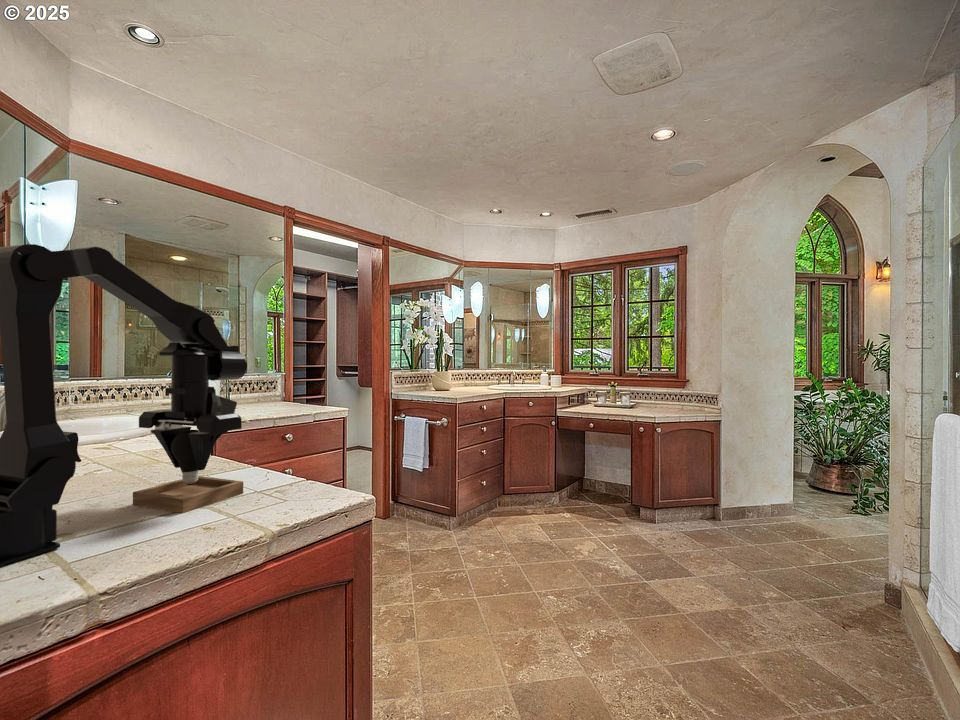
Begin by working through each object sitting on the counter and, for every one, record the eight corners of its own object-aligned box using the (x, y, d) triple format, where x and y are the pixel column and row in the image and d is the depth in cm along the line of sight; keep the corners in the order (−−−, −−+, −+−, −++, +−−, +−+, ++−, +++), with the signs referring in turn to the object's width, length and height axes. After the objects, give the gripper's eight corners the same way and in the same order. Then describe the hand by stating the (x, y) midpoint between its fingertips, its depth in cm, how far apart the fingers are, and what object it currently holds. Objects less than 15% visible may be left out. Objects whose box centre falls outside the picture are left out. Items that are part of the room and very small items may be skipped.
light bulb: (196, 489, 81) (196, 432, 81) (162, 489, 81) (162, 432, 81) (216, 481, 87) (216, 427, 87) (184, 481, 87) (184, 427, 87)
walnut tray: (183, 513, 76) (182, 499, 76) (132, 504, 80) (132, 492, 80) (243, 493, 88) (243, 481, 88) (196, 486, 92) (196, 475, 92)
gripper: (265, 381, 88) (265, 463, 88) (193, 379, 95) (193, 456, 95) (213, 383, 78) (213, 477, 78) (136, 381, 84) (136, 468, 84)
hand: (189, 468), depth 84 cm, fingers closed on light bulb, 5 cm apart
